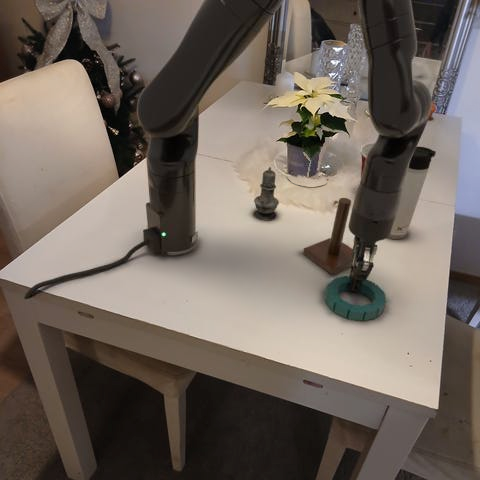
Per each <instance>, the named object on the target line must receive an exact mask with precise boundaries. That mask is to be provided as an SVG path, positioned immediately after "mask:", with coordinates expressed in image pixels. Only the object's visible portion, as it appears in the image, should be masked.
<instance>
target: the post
mask: <svg viewBox="0 0 480 480" xmlns="http://www.w3.org/2000/svg"><path fill="white" fill-rule="evenodd" d="M351 204H352V200H351V199H350V198H347V197H340V198H339V199H338V202H337V207H336V212H335V217H334V221H333V226H332V231H331V236H330V237H329V238H327V239H325V240H321V241H319V242H316V243H313V244H311V245H308V246H306V247H304V248H303V251H302V255H304V256H305V257H306V258H308V259H309V260H310V261H312V262H313V263H315V264H316V265H318V266H319V267H320V268H322V269H323V270H324V271H325V272H327V273H328V274H329V275H331V276H334V275H336V274H338V273H340V272H342V271H344V270H347V269H349V268H351V267H352V265H351V261H352V259H353V258H352V249H353V247H351V246H349V245H347V244H346V243H344V242H343V238H344V235H345V231H346V225H347V222H348V219H349V218H348V217H349V213H350V210H351Z"/></svg>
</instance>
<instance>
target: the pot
mask: <svg viewBox="0 0 480 480" xmlns="http://www.w3.org/2000/svg"><path fill="white" fill-rule="evenodd" d="M436 110H437V108H436V105H435V103H433V102H432V106H431V112H430V115H429V119H431V118H432V117H433V115H434V113H435V112H436ZM429 119H428V120H429Z"/></svg>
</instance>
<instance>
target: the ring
mask: <svg viewBox="0 0 480 480" xmlns="http://www.w3.org/2000/svg"><path fill="white" fill-rule="evenodd" d="M350 280H351V276H349V275H344V276H339V277H338V276H337V277H335V278H334V279H332V280H331V281H330V282H329V283H328V284H327V285H326V289H325V295H324V296H325V297H324V298H325V299H324V301H325V304H326V305H327V307H328V308H329V310H331V311H332V312H333V313H334V314H336V315H338V316H340V317H342V318H344V319H347V320H352V321H359V322H362V321H363V322H365V321H369V320H375V319H376V318H378V317H379V316H380V315H382V313H383V312H384V309H385V306H386V304H387V298H386V293H385V291H384V290H383V289H382V288H381V287H380V286H379V285H378V284H376V282H373V281H371V280H370V279H367V280H366V281H365V280H363V282H362V285H361V289H360V291H359V292H360V293H361V294H363V295H366V296H367V297H368V298H369V299H370V300H371V303H369V304H365V305H358V304H353V303H350V302H348V301H345V300H344V299H343V298H342V297H341V296H340V294H339V293H341V292H344V291H349V284H350ZM359 292H358V293H359Z"/></svg>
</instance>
